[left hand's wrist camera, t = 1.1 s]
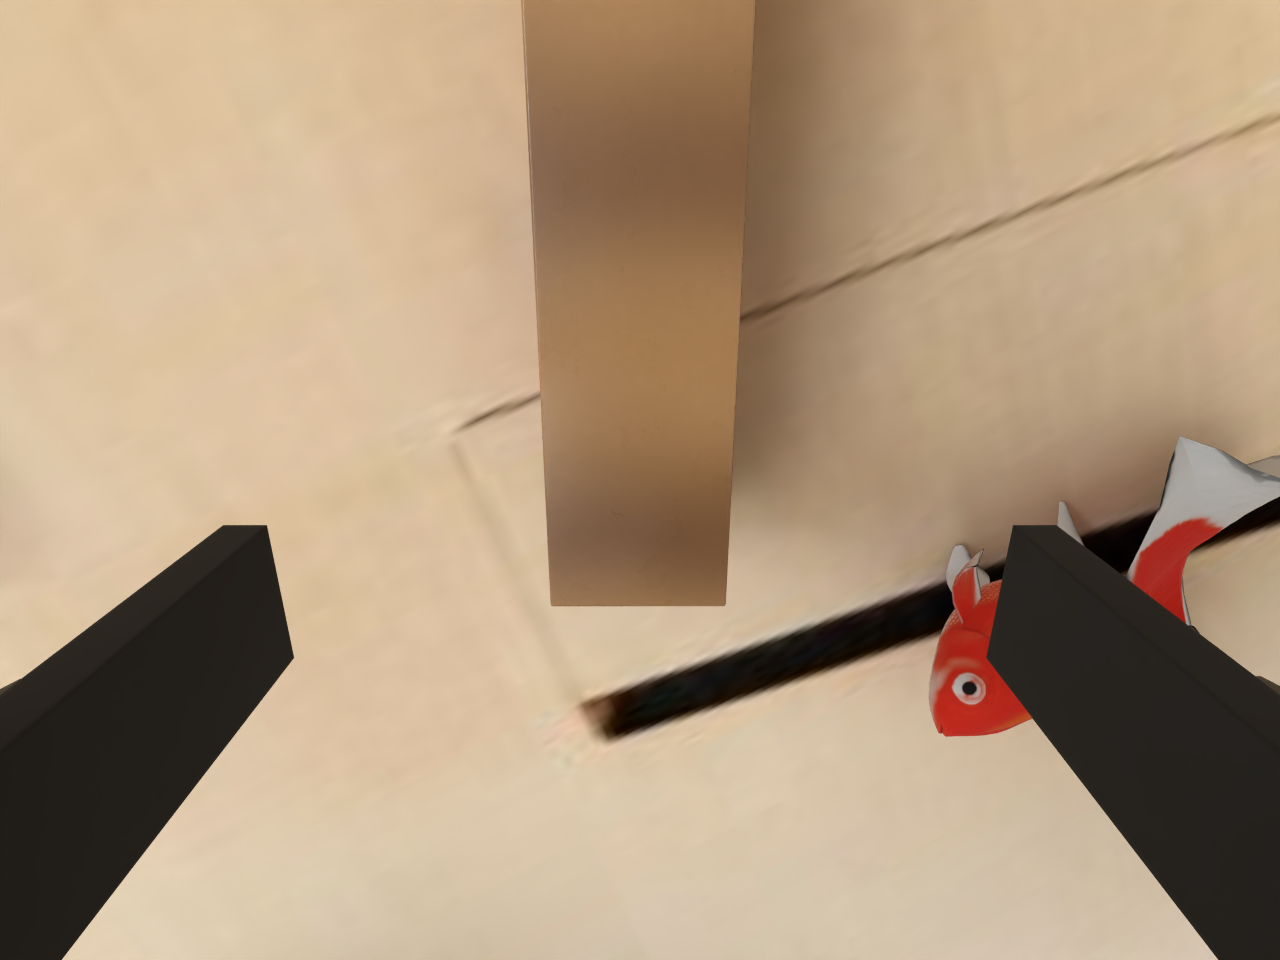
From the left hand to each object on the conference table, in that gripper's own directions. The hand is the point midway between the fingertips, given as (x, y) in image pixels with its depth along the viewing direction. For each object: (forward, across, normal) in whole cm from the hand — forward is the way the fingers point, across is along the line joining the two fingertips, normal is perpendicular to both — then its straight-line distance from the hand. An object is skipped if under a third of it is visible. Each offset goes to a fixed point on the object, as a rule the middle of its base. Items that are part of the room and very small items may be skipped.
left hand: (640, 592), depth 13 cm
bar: (+15, 0, -7) cm, 17 cm away
